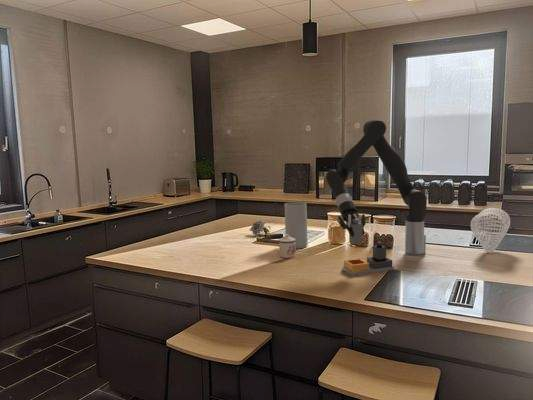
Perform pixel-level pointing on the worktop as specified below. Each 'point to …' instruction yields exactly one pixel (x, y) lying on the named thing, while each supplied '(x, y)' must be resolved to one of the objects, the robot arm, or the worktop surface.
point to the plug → (356, 232)
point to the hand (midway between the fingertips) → (357, 234)
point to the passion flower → (259, 228)
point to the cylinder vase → (296, 223)
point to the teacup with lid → (287, 247)
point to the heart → (499, 238)
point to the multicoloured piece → (369, 262)
